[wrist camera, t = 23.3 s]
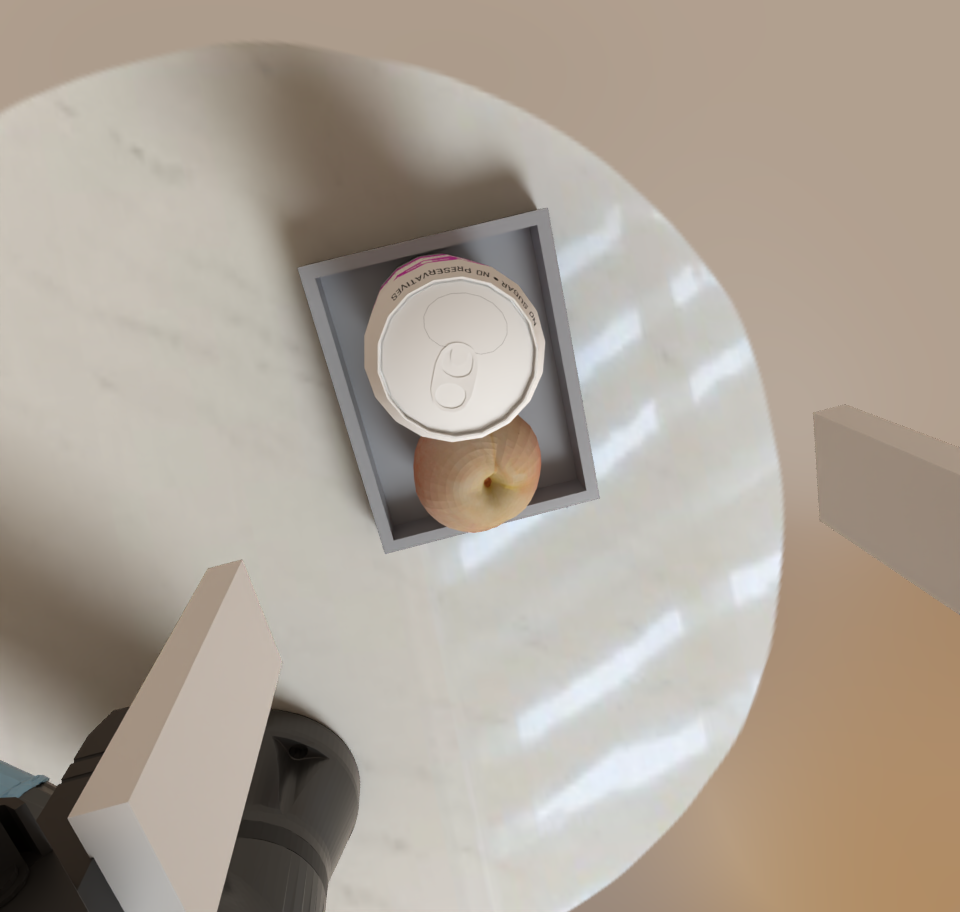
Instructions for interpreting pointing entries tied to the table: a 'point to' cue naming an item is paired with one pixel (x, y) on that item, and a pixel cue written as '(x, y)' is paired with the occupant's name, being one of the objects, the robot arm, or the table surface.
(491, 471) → the fruit
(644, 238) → the table surface
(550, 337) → the tray
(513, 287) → the supplement can
